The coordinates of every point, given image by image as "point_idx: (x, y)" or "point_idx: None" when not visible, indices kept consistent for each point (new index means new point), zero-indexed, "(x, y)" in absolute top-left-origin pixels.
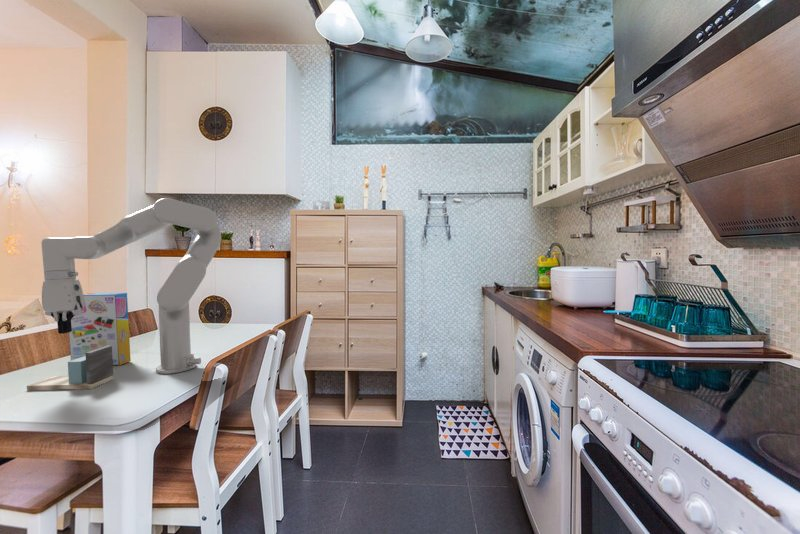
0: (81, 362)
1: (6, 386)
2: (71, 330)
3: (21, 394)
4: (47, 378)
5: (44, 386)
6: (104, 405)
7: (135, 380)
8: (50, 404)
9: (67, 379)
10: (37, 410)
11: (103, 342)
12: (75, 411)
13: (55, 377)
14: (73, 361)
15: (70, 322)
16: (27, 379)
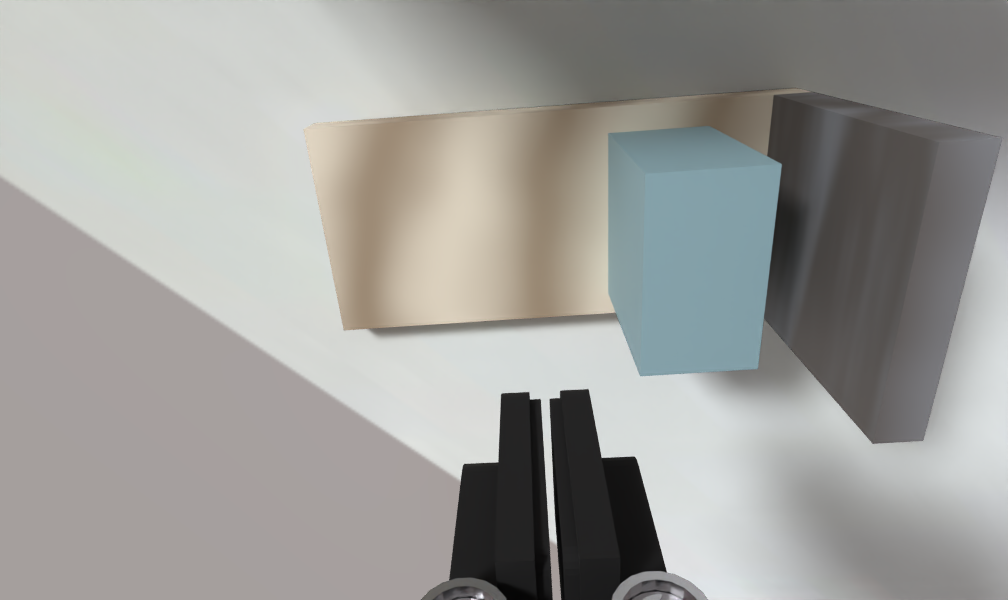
0: (755, 357)
1: (105, 245)
2: (588, 396)
3: (391, 371)
4: (322, 185)
5: (462, 319)
6: (994, 489)
7: (991, 109)
8: (703, 483)
9: (511, 206)
10: (700, 537)
11: None
12: (892, 543)
13: (363, 161)
14: (687, 368)
15: (660, 562)
16: (59, 92)
